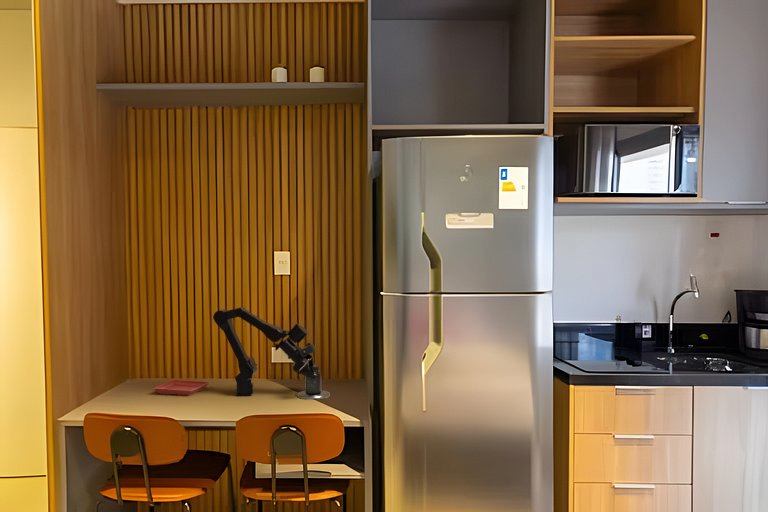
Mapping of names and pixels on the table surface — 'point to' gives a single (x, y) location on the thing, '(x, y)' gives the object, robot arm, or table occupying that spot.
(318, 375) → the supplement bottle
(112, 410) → the table surface
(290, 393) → the table surface
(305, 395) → the rosette plate
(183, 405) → the table surface
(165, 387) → the plant saucer
